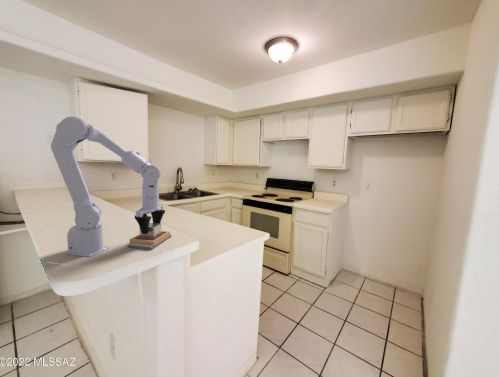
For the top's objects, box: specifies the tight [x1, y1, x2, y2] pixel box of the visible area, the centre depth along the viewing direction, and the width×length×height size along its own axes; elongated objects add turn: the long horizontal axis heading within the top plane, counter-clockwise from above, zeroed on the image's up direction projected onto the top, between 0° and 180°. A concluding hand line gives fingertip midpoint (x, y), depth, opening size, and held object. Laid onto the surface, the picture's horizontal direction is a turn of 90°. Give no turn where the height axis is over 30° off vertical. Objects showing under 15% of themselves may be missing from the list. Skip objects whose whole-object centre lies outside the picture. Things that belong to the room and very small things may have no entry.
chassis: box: [127, 230, 172, 251], centre depth 82 cm, size 10×14×3 cm
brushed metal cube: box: [138, 222, 162, 241], centre depth 81 cm, size 6×5×6 cm
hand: (150, 230), depth 81 cm, fingers open, 7 cm apart
